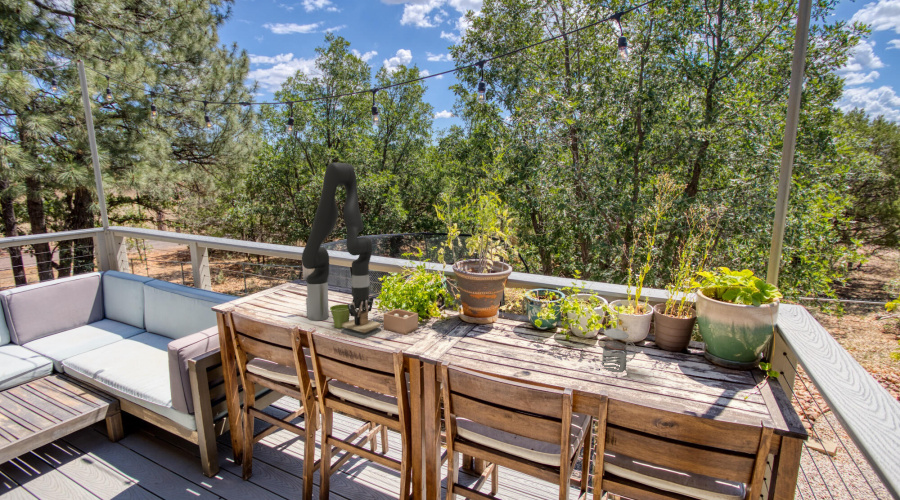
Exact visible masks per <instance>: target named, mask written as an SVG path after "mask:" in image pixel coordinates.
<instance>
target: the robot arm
mask: <svg viewBox="0 0 900 500" xmlns="http://www.w3.org/2000/svg"><path fill="white" fill-rule="evenodd" d="M324 172H325V173H324V177H323V185H322V190H321V194H320V197H319V203H318V204H317V209H316V211H315V212H316V213H315V215H314V219H313V224H312V227H311V230H310V233H309V236H308V239H307V241H306V244H305V246H304V249H303V251H302V254H301V264H302V266H303V268H305V269H307V270H313V271H312V272H311V273H310V274H308V275H307V276H306V295H307V297H306V298H305V302H306V305H305V306H306V318H308V320H310V321H313V322H314V321H316V322H318V321H323V320H327V319H328V318H329V313H330V312H329V310H330V307H329V288H328V287H329V284H328V283H329V282H328V278H329V275H330V255H329V252H328V250H327V248H325V247H322V244H323V243H324V241H325V240H326V239H327V238H328V237H329V236H330V234H331V233H332V232H333V231H334V229H335V228H336V224H337V221H338V217H339V208H338V204H337V202H336V193H337V190H338V189H337V188H338V186H343V187H344V189H345V195H346V197H345V203H344V206H343V211H342V215H343V220H344V225H345V228H346V229H345V230H346V250H347V252H348V253H349V254H350V255H351V256H355V257H356V256H358V258H356V259H354V260H353V261H352V262H351V279H350V281H351V283H350V286H351V296H352V301H351V303H347V304H346V305H347V306H348V309H349V312H350V317H354V319H355V325H360V317H359V316H360V312H361V310H362V311H366V312H368V313H370V312H372V309H373V304H374V298H373V297H371V296H370V295H371V294H370V293H371V289H370V285H371V283H370V275H369V274H370V268H369V265H370V262H371V258H372V253H373V242H372V240H371V239H370V238H369V237H366V236H365V237H358V233H361V232H362V231H363V230H364V223H363V219H362V214H361V212H360V205H359V197H358V187H357V176H356V171H355V168H354V166H353V165H352V164H350V163H347V162H346V163H345V162H330V163H329V164H328V165H327V167H326V168H325V171H324ZM356 313H357V314H356Z"/></svg>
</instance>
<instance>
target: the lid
mask: <svg viewBox="0 0 900 500" xmlns="http://www.w3.org/2000/svg"><path fill="white" fill-rule="evenodd" d="M356 314H357V313H356ZM359 317H360V325H355V318H354V319H350V320H349V321H348V322H345V323H343V324H342V327H345V328H349V329H353V330H356V331H360V332H364V333H365V332H368V331H370V330H372V329H375V328H380V327H381V324H382V323H381V322H377V321H374V320H369V312H366V311H362V310H361V312H360V316H359ZM345 328H344V329H345Z"/></svg>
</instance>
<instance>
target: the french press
mask: <svg viewBox="0 0 900 500" xmlns="http://www.w3.org/2000/svg"><path fill="white" fill-rule="evenodd" d="M615 306H616V307H618V308H617V315H619V312H620V307H622V306H623V304H622V302H620V301H619V302H616V303H615ZM618 324H619V317H617V319H616V326H618ZM603 334H604V336H606V337H607V338H610V339H613V340H609V341H606V342H604V346H603V349H602V358H601V359H602V360H601V365H603V366H604V367H616V368H619V370H617V369H614V368H604V369H606V370H608V371H612V372H623V371H624V370H626V371H627V363H628V362H631V361H633V359H634V358H635V357H636V354H637V347H636V345H635V344H634V342H633V341H632V340H630V339H629V338H630V337H629V336H630V335H629V334H628V332H626V331H625V330H622V329H619V328H609V329H606V330H604V331H603ZM626 339H627V341H625V343H622V342H620V341H617V340H626ZM629 344H630V345H631V347H632V349H633V356H632V358H630V359H629V358H628V359H627V357H628V356H627V355H628V354H627V353H628V350H627V346H628V345H629ZM604 363H615V364H618V365H620V367H619V366H616V365H604Z"/></svg>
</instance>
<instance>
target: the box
mask: <svg viewBox="0 0 900 500" xmlns="http://www.w3.org/2000/svg"><path fill="white" fill-rule="evenodd" d="M382 316H383V330H385V331H388V332H389V331H390V332H393V333H397V334H401V335H403V336H405V335H408V334H410V333H412V332H414V331H416V330H418V328H419V313H418V312H413V311H408V310H403V309H399V308H395V309H392V310H389V311H387V312H385V313H383V315H382Z"/></svg>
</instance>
